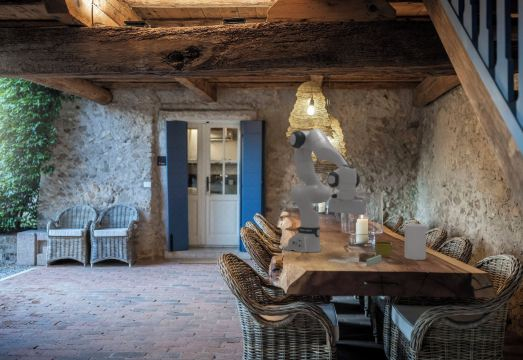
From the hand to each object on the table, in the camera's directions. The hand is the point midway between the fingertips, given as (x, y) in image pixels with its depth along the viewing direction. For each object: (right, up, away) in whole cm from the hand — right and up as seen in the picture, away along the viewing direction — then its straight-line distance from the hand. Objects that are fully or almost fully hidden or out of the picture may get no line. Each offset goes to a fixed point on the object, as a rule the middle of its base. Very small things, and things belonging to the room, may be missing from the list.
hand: (346, 221), depth 244 cm
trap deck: (+2, -21, -8) cm, 22 cm away
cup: (+40, -21, +11) cm, 46 cm away
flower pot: (+21, -21, +6) cm, 30 cm away
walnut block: (+9, -19, -9) cm, 23 cm away
